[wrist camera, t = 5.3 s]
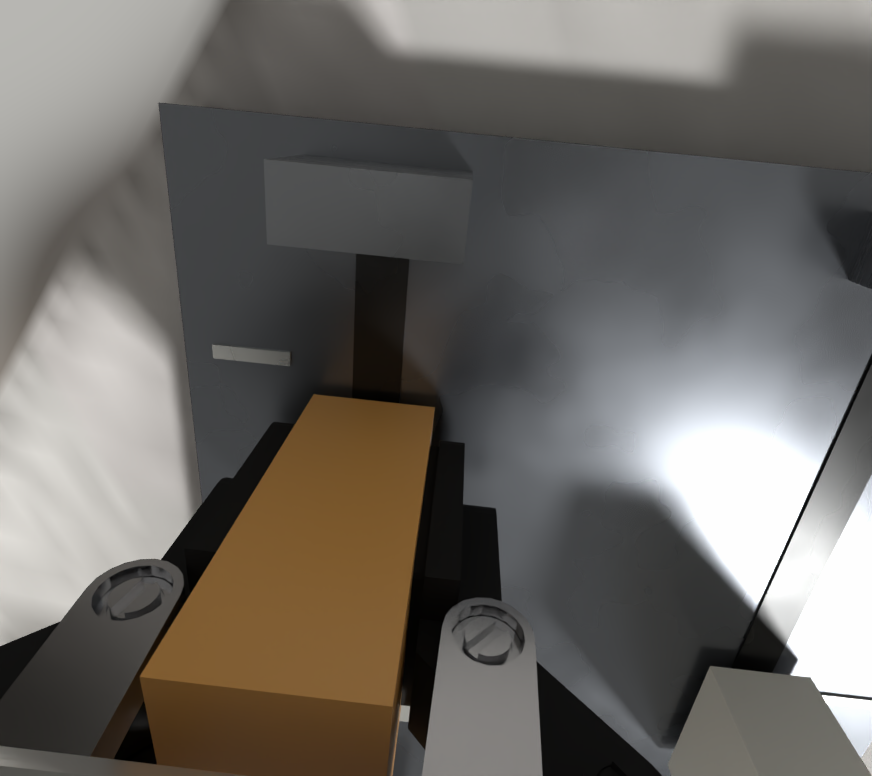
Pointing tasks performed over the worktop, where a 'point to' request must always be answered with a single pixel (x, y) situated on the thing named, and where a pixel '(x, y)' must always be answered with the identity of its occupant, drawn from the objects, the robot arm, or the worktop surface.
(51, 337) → the worktop surface
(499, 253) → the console
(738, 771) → the cream fader
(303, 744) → the orange fader
